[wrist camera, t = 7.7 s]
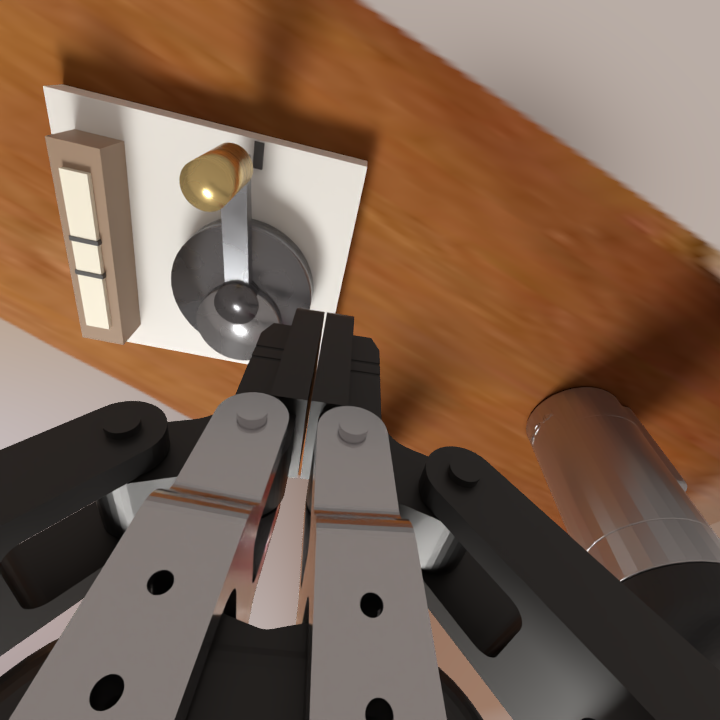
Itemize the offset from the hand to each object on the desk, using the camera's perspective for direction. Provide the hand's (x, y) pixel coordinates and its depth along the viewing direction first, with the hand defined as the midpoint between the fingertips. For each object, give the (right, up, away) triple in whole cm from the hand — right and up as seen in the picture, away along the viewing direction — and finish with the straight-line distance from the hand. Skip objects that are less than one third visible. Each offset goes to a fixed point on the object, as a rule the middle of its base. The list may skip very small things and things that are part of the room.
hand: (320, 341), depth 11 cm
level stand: (-10, +8, +22) cm, 25 cm away
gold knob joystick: (-7, +7, +19) cm, 22 cm away
